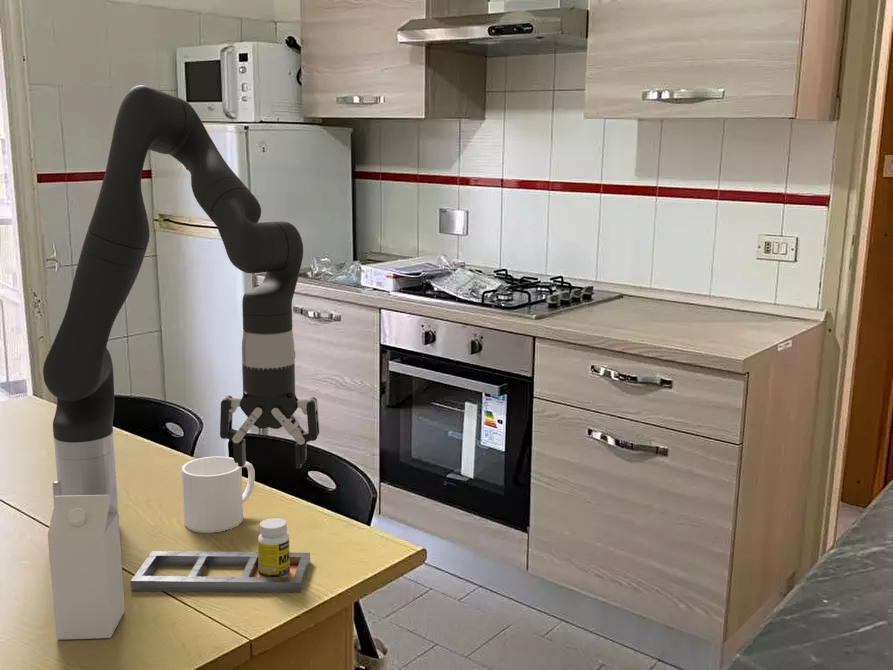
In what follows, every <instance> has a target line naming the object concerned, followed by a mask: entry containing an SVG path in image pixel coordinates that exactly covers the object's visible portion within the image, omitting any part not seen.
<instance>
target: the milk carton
mask: <svg viewBox="0 0 893 670" xmlns="http://www.w3.org/2000/svg"><path fill="white" fill-rule="evenodd" d="M54 502H55V505H54V504H53V508H52V509H53V510H52V515H51V518H50V523H49V527H48V531H47V543H48V554H49V555H48V556H49V566H50V567H49V568H50V579H51V591H52V593H51V594H52V600H53V603H52V604H53V614H54V615H53V616H54V625H55V626H54V627H55V636H56V637H55V638H56V640H58V641H59V640H60V641H61V640H88V639H90V640H91V639H111V638H112V636H113V635H114V632H115V630H116V629H117V626H118V625H119V623H120V622H121V619H122V617H123V615H124V613H125V609H126V608H125V595H124V593H125V592H124V578H123V563H122V550H121V546H122V545H121V535H120V515H119V516H118V512H119V511H118V512H117V510H116V509H115V508H114V507H113V505H112V504H111V503H110V495H70V496H54V498H53V503H54Z"/></svg>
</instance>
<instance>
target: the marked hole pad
mask: <svg viewBox="0 0 893 670" xmlns="http://www.w3.org/2000/svg"><path fill="white" fill-rule="evenodd" d="M297 567H298V566H290V573H289V575H288V576H287V577H294V576H295V573H296V570H297ZM253 577H260V576H259V567H257V569H256V571H255V574H254V576H253Z"/></svg>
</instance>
